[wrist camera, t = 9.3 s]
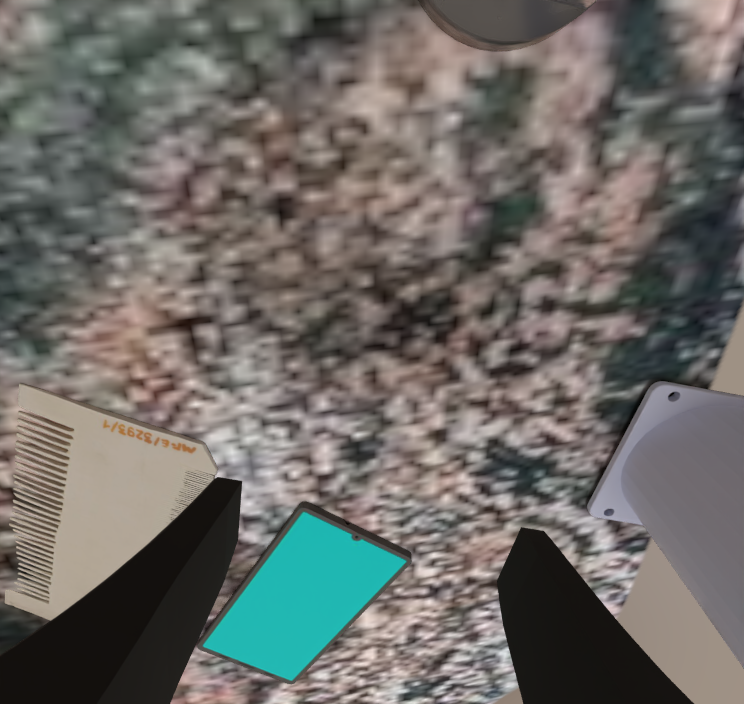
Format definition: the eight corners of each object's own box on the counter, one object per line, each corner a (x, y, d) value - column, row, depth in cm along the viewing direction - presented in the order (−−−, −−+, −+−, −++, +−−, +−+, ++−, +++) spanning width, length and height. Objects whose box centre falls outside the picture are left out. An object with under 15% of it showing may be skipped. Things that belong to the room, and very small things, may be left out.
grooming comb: (24, 375, 21) (12, 383, 20) (227, 444, 22) (222, 453, 21) (8, 600, 28) (-2, 611, 27) (161, 640, 29) (155, 652, 29)
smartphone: (195, 648, 28) (301, 506, 22) (200, 635, 29) (304, 494, 23) (293, 686, 29) (415, 560, 24) (295, 672, 30) (414, 548, 25)
